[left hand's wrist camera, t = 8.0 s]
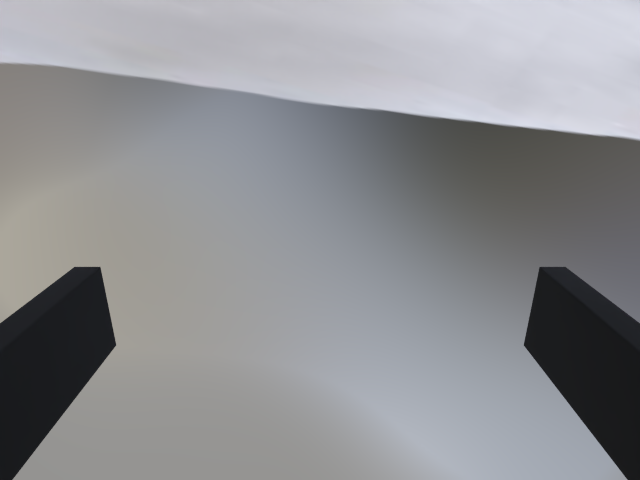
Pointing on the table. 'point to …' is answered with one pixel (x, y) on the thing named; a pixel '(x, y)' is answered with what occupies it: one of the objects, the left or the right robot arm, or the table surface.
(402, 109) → the table surface
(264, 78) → the table surface
